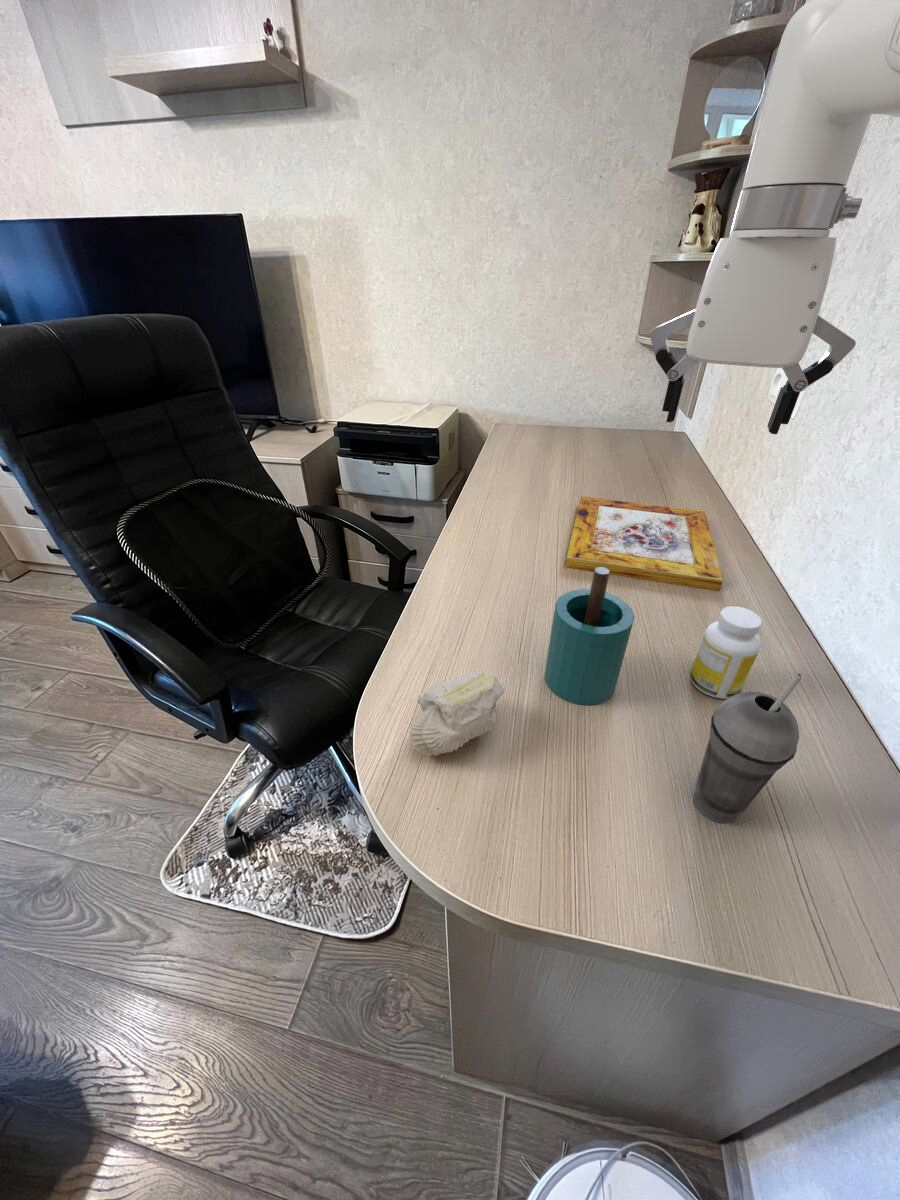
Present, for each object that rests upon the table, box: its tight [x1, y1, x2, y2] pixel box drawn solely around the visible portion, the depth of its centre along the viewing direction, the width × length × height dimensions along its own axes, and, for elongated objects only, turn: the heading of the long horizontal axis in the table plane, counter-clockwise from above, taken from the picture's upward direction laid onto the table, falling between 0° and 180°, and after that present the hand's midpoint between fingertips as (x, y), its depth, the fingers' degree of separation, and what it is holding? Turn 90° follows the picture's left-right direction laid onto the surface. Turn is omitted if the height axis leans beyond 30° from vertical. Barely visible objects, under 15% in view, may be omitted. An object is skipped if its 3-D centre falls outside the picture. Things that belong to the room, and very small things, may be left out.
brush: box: [584, 567, 611, 627], centre depth 64 cm, size 5×5×17 cm
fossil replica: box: [409, 671, 505, 757], centre depth 59 cm, size 12×8×10 cm
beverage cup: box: [692, 672, 804, 825], centre depth 48 cm, size 7×7×20 cm
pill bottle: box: [689, 605, 763, 700], centre depth 66 cm, size 6×6×12 cm
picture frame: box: [564, 496, 724, 592], centre depth 103 cm, size 27×2×30 cm
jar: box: [544, 588, 635, 706], centre depth 66 cm, size 10×10×12 cm
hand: (719, 424), depth 52 cm, fingers open, 9 cm apart
